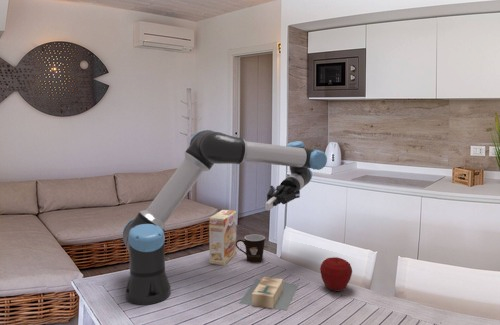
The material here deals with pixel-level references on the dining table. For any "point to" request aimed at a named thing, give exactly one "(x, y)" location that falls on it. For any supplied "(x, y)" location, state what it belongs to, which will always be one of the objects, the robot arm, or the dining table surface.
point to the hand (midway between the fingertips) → (267, 206)
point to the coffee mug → (253, 247)
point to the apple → (335, 273)
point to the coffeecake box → (222, 236)
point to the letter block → (267, 292)
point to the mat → (282, 301)
